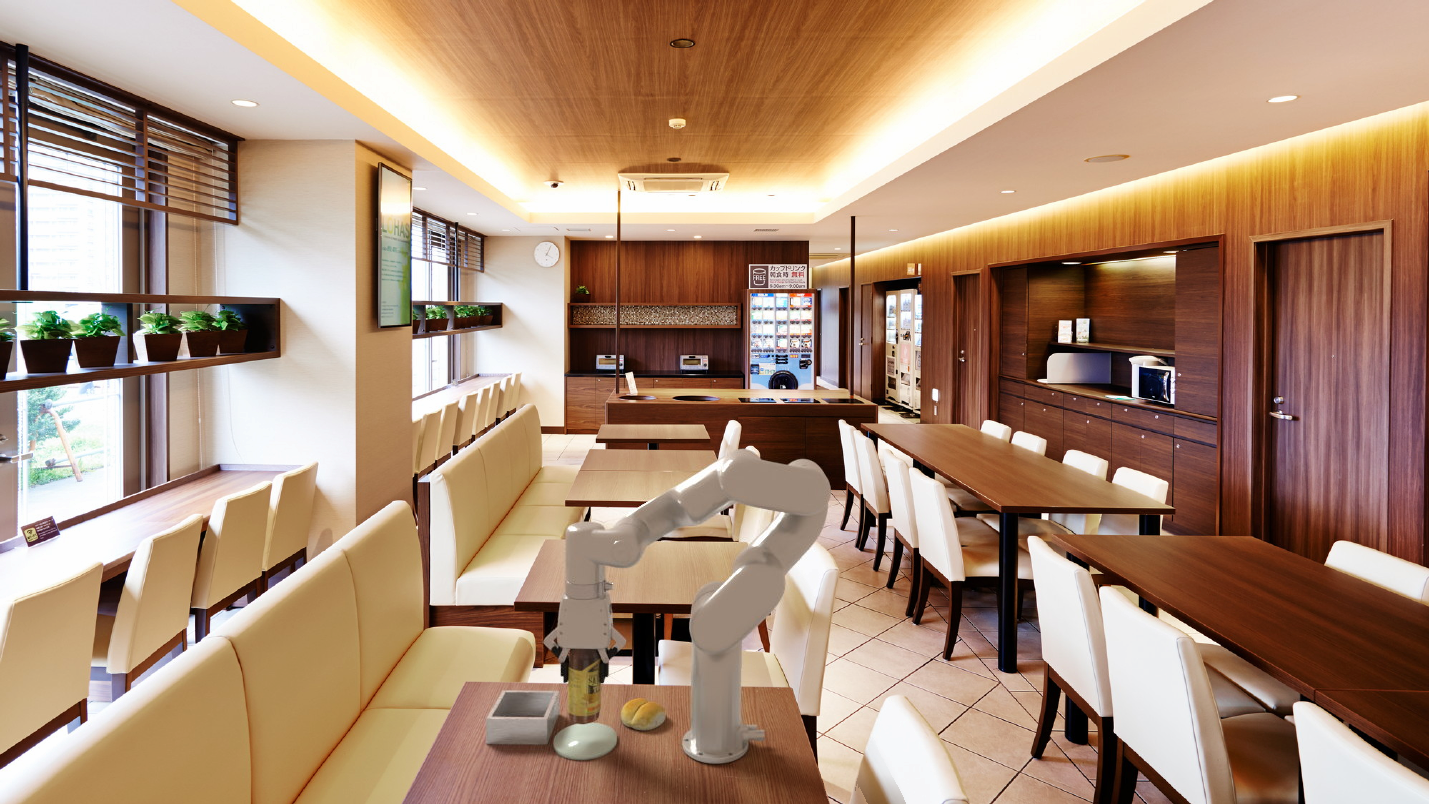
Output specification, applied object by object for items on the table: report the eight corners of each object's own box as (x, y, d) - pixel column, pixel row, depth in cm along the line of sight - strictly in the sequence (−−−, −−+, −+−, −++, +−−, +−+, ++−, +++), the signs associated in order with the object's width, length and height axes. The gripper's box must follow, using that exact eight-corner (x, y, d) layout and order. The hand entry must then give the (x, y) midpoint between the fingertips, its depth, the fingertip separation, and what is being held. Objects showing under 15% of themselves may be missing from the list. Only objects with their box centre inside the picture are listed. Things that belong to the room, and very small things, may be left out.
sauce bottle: (593, 728, 138) (594, 624, 136) (562, 724, 139) (562, 621, 137) (605, 711, 144) (606, 612, 142) (575, 707, 145) (576, 609, 144)
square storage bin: (559, 714, 153) (559, 690, 152) (547, 744, 141) (546, 719, 141) (502, 713, 152) (502, 690, 152) (486, 744, 141) (485, 718, 140)
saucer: (620, 726, 148) (620, 722, 148) (612, 760, 136) (612, 756, 136) (560, 726, 148) (560, 722, 148) (547, 759, 136) (547, 755, 136)
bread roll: (638, 706, 157) (638, 688, 156) (671, 719, 151) (671, 700, 151) (611, 722, 150) (611, 703, 150) (645, 736, 145) (645, 716, 144)
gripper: (633, 582, 143) (631, 672, 145) (543, 581, 143) (543, 670, 145) (629, 595, 136) (627, 690, 137) (534, 594, 136) (534, 688, 137)
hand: (584, 679), depth 141 cm, fingers closed on sauce bottle, 6 cm apart
